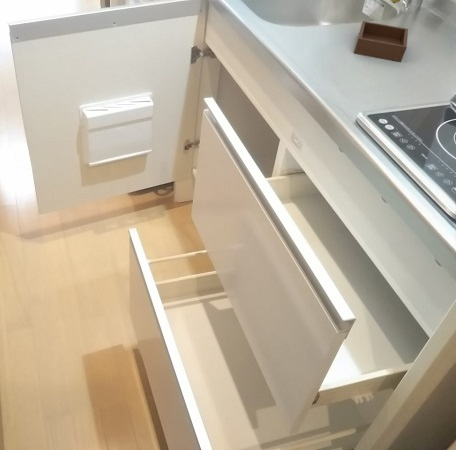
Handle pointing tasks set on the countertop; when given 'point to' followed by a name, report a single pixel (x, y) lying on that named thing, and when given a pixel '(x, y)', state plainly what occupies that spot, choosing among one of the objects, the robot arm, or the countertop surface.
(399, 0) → the light bulb
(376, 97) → the countertop surface
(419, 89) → the countertop surface
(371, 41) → the tray
